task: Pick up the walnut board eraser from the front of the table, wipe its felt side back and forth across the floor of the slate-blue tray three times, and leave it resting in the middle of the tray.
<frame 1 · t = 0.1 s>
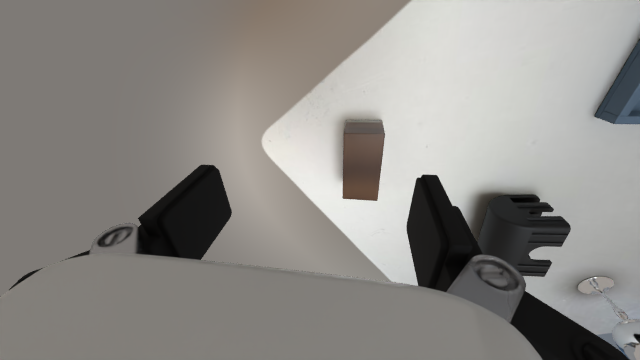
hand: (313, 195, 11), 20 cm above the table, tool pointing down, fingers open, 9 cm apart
wineglass: (594, 284, 38), on the table
end cap: (498, 219, 34), on the table
eraser: (361, 152, 32), on the table
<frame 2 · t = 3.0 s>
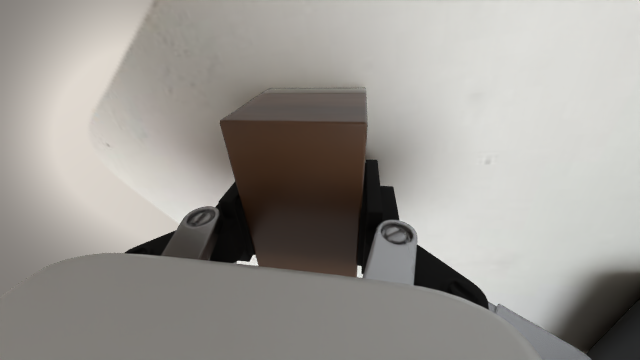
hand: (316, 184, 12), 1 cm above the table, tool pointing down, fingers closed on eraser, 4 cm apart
end cap: (629, 319, 15), on the table
eraser: (319, 174, 13), on the table, touching gripper
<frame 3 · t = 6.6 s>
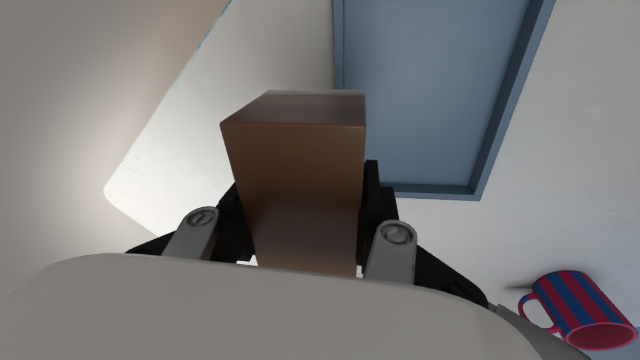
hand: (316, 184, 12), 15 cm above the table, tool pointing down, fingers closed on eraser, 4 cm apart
eraser: (319, 175, 13), point 14 cm above the table, touching gripper
tray: (416, 95, 23), on the table
mug: (545, 284, 34), on the table
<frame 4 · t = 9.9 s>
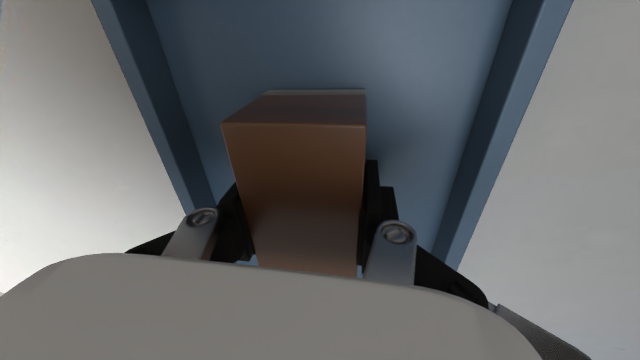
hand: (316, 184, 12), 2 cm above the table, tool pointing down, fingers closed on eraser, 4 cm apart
eraser: (319, 175, 13), point 1 cm above the table, touching gripper
tray: (321, 194, 15), on the table
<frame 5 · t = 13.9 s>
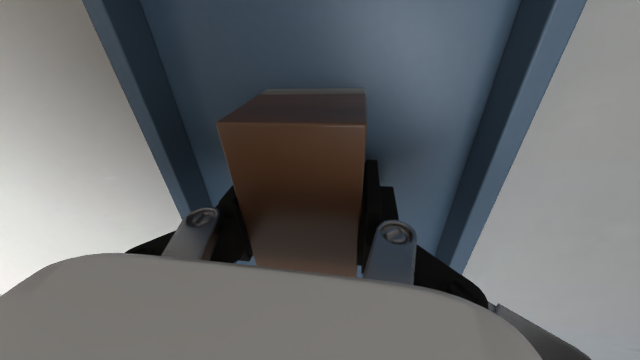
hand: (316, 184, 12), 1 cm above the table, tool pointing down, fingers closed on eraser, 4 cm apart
eraser: (319, 176, 13), point 1 cm above the table, touching gripper
tray: (321, 184, 14), on the table
when the fingers open (1 cm above the table, at t = 16.9 s): eraser stays where it is, resting on tray.
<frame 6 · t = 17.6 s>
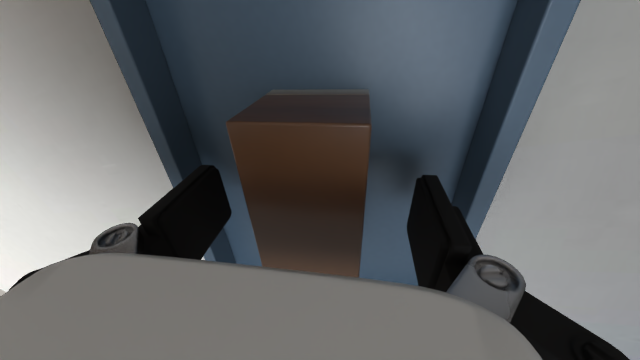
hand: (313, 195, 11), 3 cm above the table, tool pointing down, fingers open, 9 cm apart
eraser: (322, 175, 13), point 1 cm above the table, touching tray
tray: (322, 169, 13), on the table
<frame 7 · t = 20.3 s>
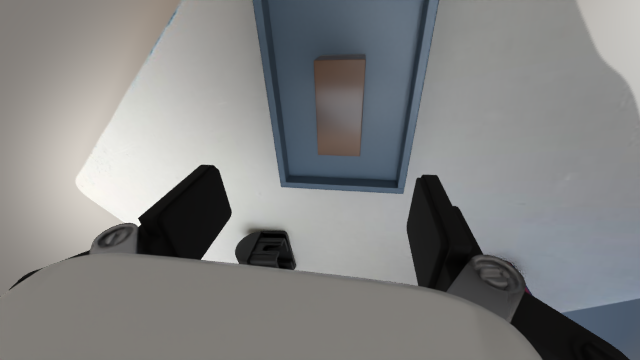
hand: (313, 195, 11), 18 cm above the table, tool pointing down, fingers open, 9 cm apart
end cap: (273, 248, 42), on the table
eraser: (342, 100, 26), point 1 cm above the table, touching tray
tray: (342, 98, 27), on the table
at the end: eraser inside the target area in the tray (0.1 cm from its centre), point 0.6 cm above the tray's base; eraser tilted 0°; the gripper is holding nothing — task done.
